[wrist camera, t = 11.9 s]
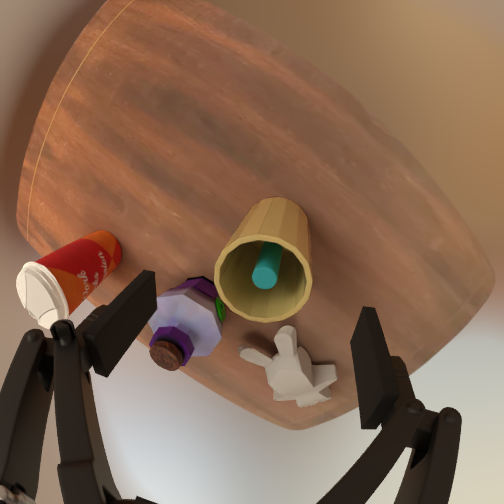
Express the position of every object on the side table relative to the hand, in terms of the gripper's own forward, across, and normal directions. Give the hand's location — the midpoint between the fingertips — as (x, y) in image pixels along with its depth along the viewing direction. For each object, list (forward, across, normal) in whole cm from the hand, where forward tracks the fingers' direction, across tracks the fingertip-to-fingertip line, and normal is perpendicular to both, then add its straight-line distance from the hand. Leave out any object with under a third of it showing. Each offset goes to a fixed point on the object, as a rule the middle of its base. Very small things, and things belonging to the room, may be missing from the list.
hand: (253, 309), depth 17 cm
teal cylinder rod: (+15, 0, 0) cm, 15 cm away
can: (+16, 0, 0) cm, 16 cm away
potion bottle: (+16, -8, -10) cm, 20 cm away
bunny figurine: (+16, +5, -18) cm, 25 cm away
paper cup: (+16, -22, -6) cm, 28 cm away
